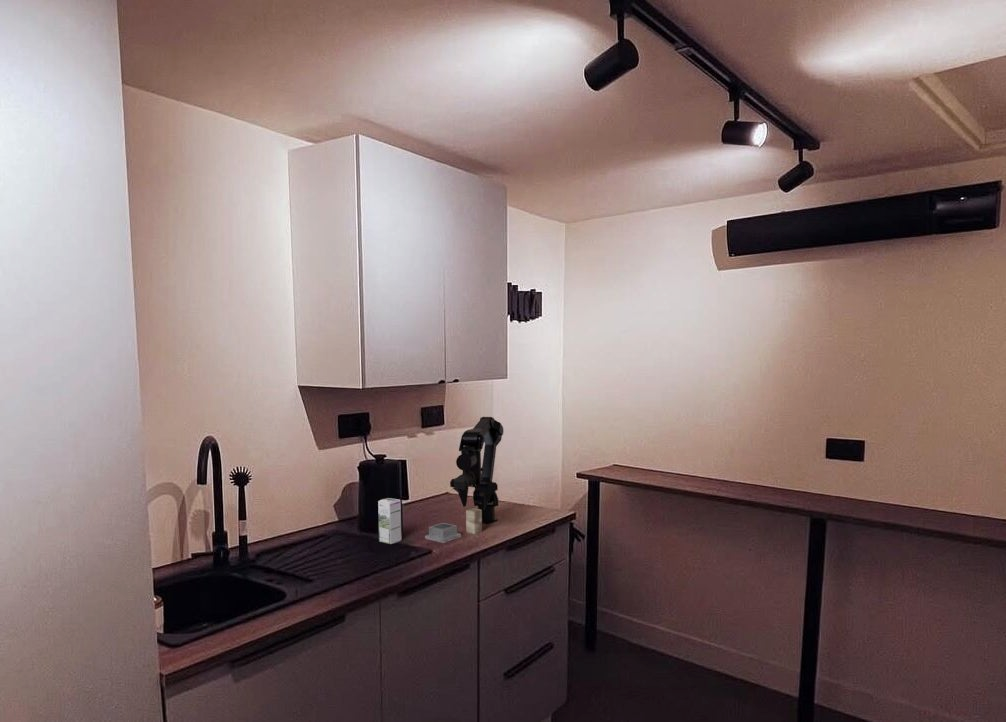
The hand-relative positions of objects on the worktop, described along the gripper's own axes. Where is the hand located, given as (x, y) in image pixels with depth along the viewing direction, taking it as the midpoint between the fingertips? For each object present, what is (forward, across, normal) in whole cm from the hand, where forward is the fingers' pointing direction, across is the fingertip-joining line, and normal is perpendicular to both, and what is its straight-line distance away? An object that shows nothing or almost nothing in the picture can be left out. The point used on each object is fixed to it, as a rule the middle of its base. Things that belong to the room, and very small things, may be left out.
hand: (473, 508), depth 222 cm
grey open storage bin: (+8, -4, -12) cm, 15 cm away
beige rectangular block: (+9, 0, 0) cm, 9 cm away
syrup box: (+9, -16, -26) cm, 32 cm away
